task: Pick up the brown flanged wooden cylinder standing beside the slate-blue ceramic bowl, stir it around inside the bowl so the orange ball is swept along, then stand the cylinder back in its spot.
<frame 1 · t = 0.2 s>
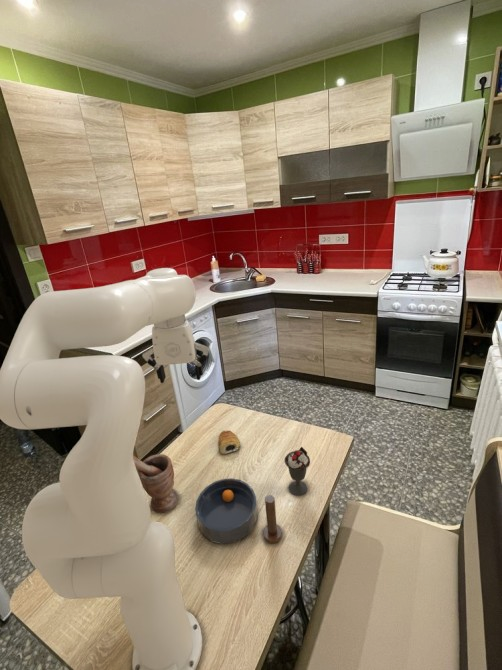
hand: (181, 378, 92), 31 cm above the table, tool pointing down, fingers open, 9 cm apart
sundae: (298, 488, 95), on the table
mortar and pestle: (159, 505, 93), on the table
bowl: (228, 516, 88), on the table
pastry: (228, 445, 112), on the table
brown flanged wooden cylinder: (272, 535, 83), on the table
orange ball: (227, 495, 92), point 2 cm above the table, touching bowl
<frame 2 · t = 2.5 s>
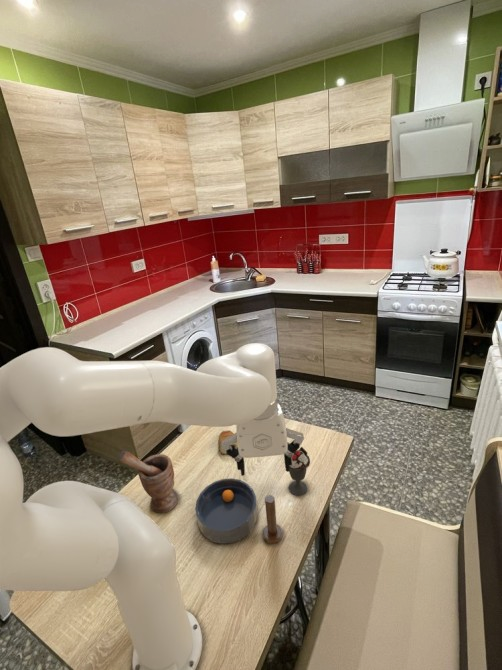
hand: (264, 468, 75), 20 cm above the table, tool pointing down, fingers open, 9 cm apart
nothing on the table moved.
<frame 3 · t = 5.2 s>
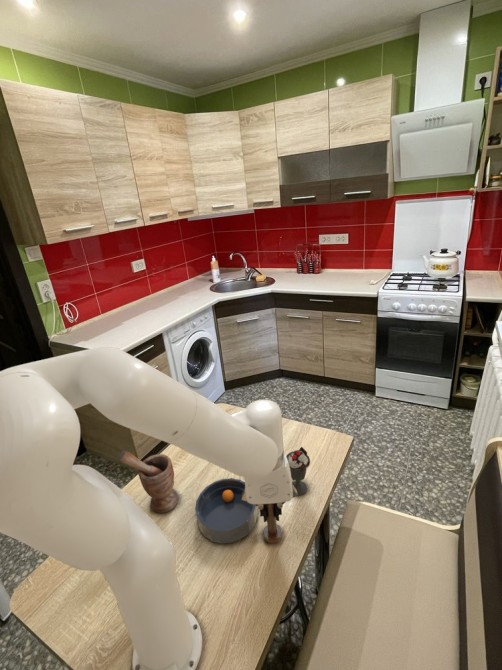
hand: (271, 515, 80), 7 cm above the table, tool pointing down, fingers closed on brown flanged wooden cylinder, 2 cm apart
brown flanged wooden cylinder: (272, 535, 83), on the table, touching gripper
everything else where it was.
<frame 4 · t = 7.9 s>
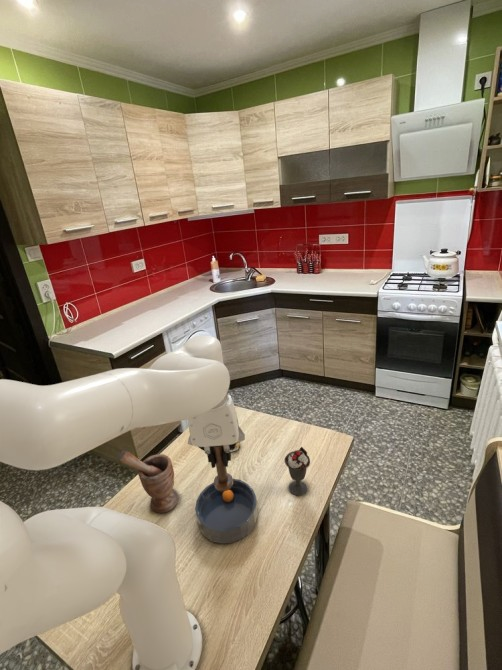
hand: (220, 462, 78), 20 cm above the table, tool pointing down, fingers closed on brown flanged wooden cylinder
brown flanged wooden cylinder: (223, 483, 81), point 14 cm above the table, touching gripper
everything else where it was.
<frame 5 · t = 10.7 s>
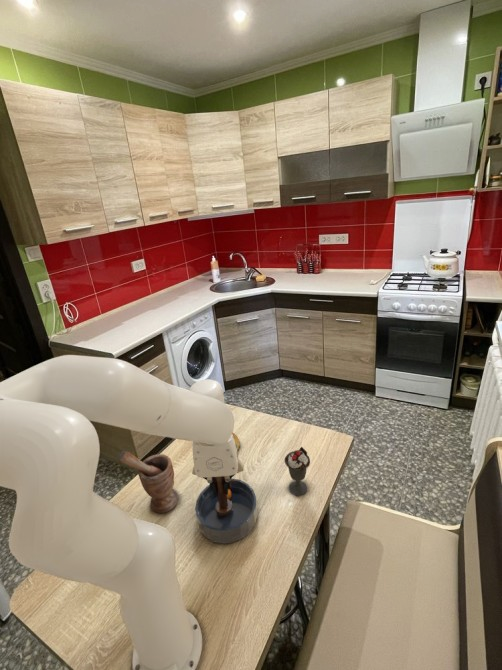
hand: (221, 489, 86), 8 cm above the table, tool pointing down, fingers closed on brown flanged wooden cylinder, 2 cm apart
brown flanged wooden cylinder: (224, 508, 89), point 1 cm above the table, touching gripper
orange ball: (225, 494, 92), point 2 cm above the table, tilted 23°, touching bowl
everything else where it was.
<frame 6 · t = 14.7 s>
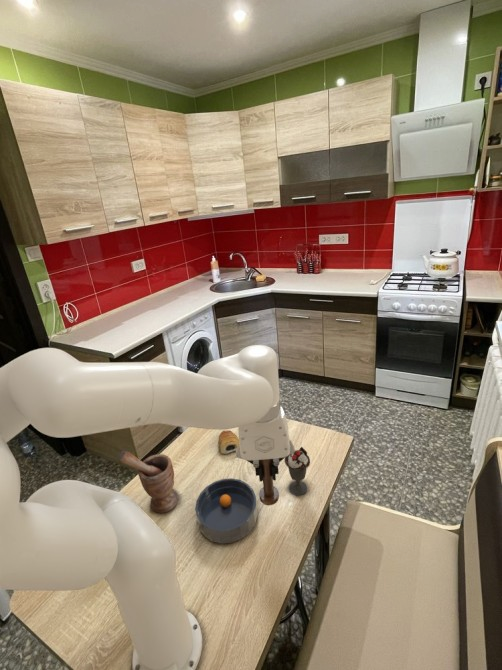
hand: (267, 475, 75), 19 cm above the table, tool pointing down, fingers closed on brown flanged wooden cylinder
brown flanged wooden cylinder: (269, 497, 78), point 12 cm above the table, touching gripper
orange ball: (225, 500, 90), point 2 cm above the table, tilted 59°, touching bowl
everything else where it was.
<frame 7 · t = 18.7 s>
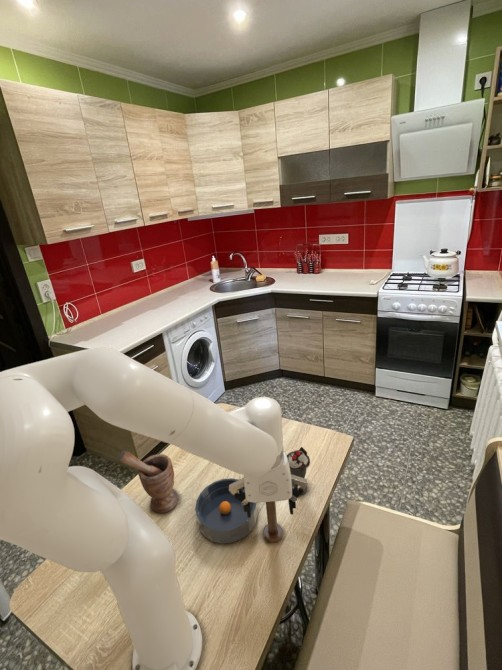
hand: (270, 510, 79), 9 cm above the table, tool pointing down, fingers open, 9 cm apart
brown flanged wooden cylinder: (273, 533, 83), on the table
orange ball: (225, 507, 88), point 2 cm above the table, tilted 138°, touching bowl
everything else where it was.
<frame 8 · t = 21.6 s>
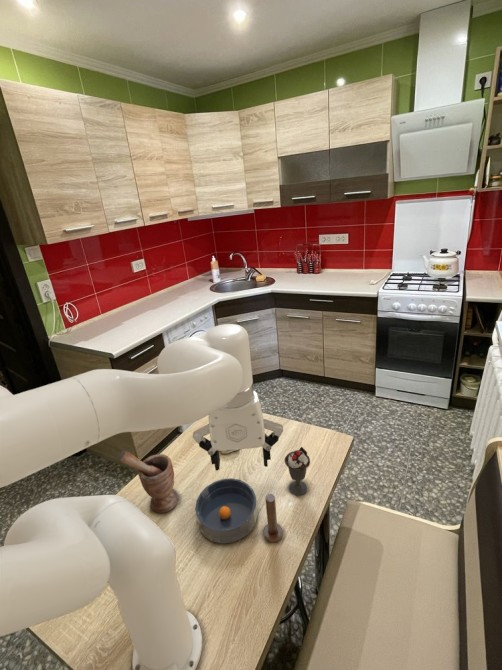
hand: (241, 463, 69), 26 cm above the table, tool pointing down, fingers open, 9 cm apart
orange ball: (224, 512, 87), point 2 cm above the table, tilted 162°, touching bowl
everything else where it was.
at the end: orange ball moved 5.1 cm from its start; orange ball 0.9 cm from the bowl (horizontally); brown flanged wooden cylinder tilted 0° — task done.
